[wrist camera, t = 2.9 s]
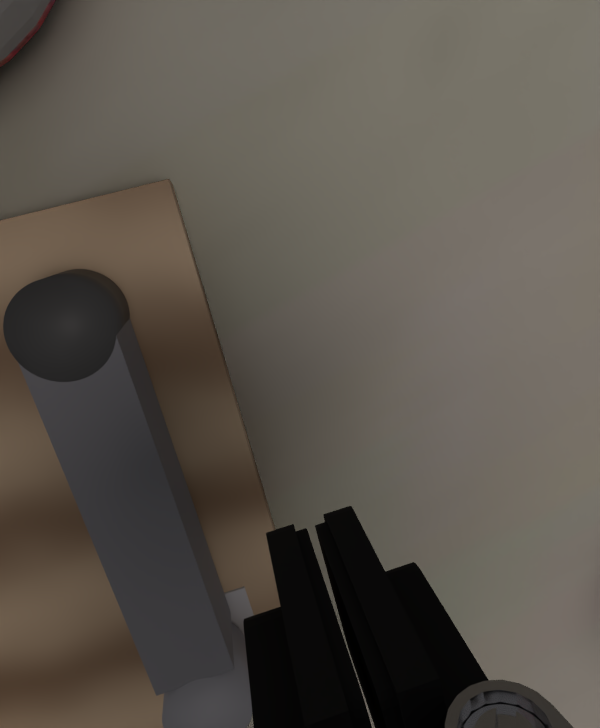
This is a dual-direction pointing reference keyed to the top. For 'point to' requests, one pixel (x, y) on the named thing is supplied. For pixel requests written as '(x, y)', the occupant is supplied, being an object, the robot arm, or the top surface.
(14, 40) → the citrus juicer
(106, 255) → the flat wooden plank
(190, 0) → the top surface
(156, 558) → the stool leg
